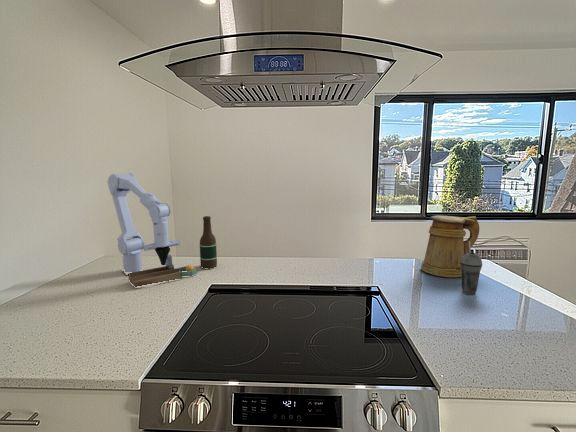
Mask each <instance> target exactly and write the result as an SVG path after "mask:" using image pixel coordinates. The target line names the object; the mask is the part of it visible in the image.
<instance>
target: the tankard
mask: <svg viewBox="0 0 576 432" xmlns="http://www.w3.org/2000/svg"><path fill="white" fill-rule="evenodd" d="M429 220H432V224H431V225H430V227H429V230H428V234H429V237H428V242H427V247H426V251H425V256H424V258H423V259H422V260H421V261H422V262H421V265H420V268H421V271H423V272H424V273H427V274H430V275H432V276H437V277H444V278H462V273H461V263H460V262H461V259H462V257H463V256H464V255H465V254H466V253H469V241H470V246H471V248H472V247H473V246H474V245H475V243H476V241H477V240H478V237H479V234H480V223H479V221H478V220H477V217H476V216H475V215H474V216H467V217H463V216H454V215H453V216H452V215H451V216H450V215H432V216H430V217H429ZM466 230H468V232H469V237H468V238H467V239H465V238H464V237H466V234H467V233H466ZM464 239H465V240H464Z"/></svg>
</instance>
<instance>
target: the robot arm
mask: <svg viewBox="0 0 576 432" xmlns="http://www.w3.org/2000/svg"><path fill="white" fill-rule="evenodd" d="M106 182H107V185H108V189H109V194H110V195H111V196H112V200H113V204H114V208H115V212H116V216H117V219H118V220H117V221H118V224H119V226H120V231H121V233H120V235H119V236H118V238H117V248H118V249H117V250H118V251H119V253H120V254H121V255H122V267H123V269H125V272H137V271H140V270H142V269H143V263H142V252H143V251H144V252H146V251H147V252H148V251H152V250H154V251H155V253H156V255H157V256H158V258H159V261H160V264H161V266H166V259H167V256H168V255H170V254H169V253H170V252H171V247H177V246H178V247H181V242H180V240H170V237H169V220H168V219H169V218H168V217H169V216H170V214H171V208H170V205H168V203H167V202H163V201H160V200H159V199H158V198H157V197H155V195H154V194H153V192H148V191H146V190H145V189H144V188H143V187H142V186H141V185H140V184H139V182H138V179H137V176H135V175H134V174H133V173H129V172H128V173H118V174H115V173H112V174H110V175H109V176H108V178H107V181H106ZM130 192H132V193H133V194H134V195H135V196H137V197H138V198H139V202H140V204H141V205H142V206H144V208H146V210H148V214H149V217H150V218H151V219H150V220H151V222H152V225H153V226H152V227H153V239H154V241H153V243H149V244H145V240H144V239H143V237H142V234H141V233H140V232H139V231H137V230H136V229H135V226H134V222H133V218H132V214H131V211H130V207H129V204H128V200H127V195H128V194H129V193H130Z"/></svg>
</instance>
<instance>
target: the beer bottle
mask: <svg viewBox="0 0 576 432" xmlns="http://www.w3.org/2000/svg"><path fill="white" fill-rule="evenodd" d="M211 217H212V216H210V215H209V216H208V215H205V216H203V217H202V220H203V223H202V224H203V228H202V229H203V231H202V235H201V237H200V239H199V259H200V268H201V267H203V268H213V269H215V268H214V267H216V268H217V266H218V257H217V256H218V255H217V253H218V252H217V239H216V236H215V235H214V234H213V231H212V223H211V220H212V218H211ZM203 268H202V269H203Z"/></svg>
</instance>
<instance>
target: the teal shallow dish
mask: <svg viewBox="0 0 576 432" xmlns="http://www.w3.org/2000/svg"><path fill="white" fill-rule="evenodd" d="M187 266H188V265H185V266H180V267H178V268H179V272H180V274H181V276H192V275H194V274H197V267H195V266H193V267H194V270H192V271H187V272H182V271H186V267H187ZM194 276H195V275H194ZM192 277H193V276H192Z"/></svg>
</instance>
